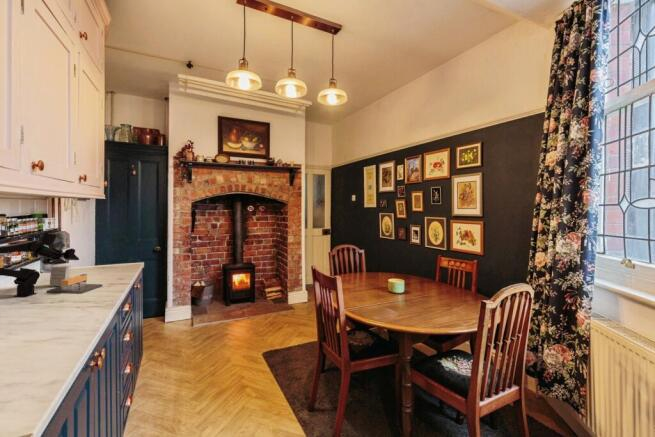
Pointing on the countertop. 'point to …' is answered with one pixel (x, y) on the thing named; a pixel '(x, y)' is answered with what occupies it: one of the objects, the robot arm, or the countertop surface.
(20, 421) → the countertop surface
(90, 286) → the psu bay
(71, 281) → the swing arm
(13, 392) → the countertop surface
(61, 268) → the supplement box
